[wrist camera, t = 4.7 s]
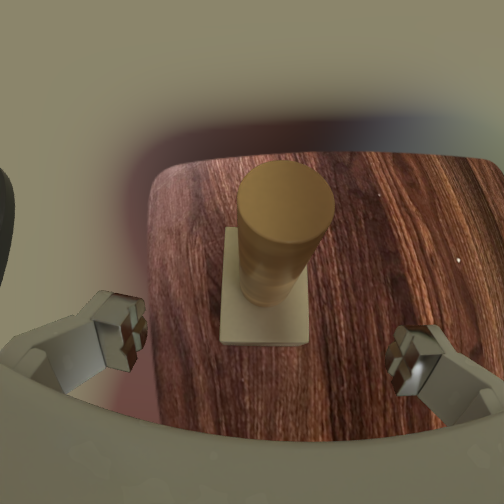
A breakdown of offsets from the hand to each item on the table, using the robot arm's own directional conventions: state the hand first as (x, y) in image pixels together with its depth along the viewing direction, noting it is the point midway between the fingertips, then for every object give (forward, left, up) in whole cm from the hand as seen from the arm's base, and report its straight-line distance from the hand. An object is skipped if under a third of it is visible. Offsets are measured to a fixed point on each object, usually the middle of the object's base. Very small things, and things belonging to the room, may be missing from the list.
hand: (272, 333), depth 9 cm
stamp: (0, +4, -10) cm, 11 cm away
